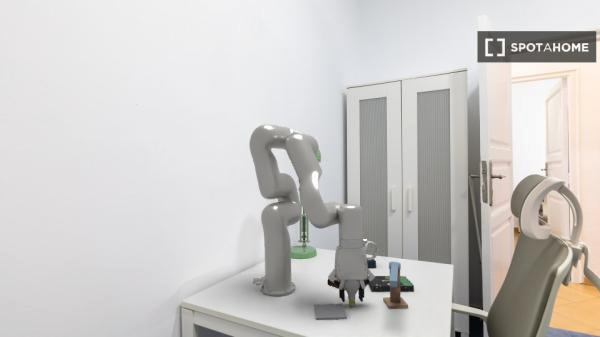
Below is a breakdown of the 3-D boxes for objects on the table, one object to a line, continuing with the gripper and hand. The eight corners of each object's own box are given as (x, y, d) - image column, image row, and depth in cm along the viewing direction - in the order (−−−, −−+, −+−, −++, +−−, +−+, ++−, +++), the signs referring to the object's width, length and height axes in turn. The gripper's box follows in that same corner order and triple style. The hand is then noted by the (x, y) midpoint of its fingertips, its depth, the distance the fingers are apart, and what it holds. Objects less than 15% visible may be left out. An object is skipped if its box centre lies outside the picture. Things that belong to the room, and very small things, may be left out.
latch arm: (400, 287, 84) (400, 281, 84) (386, 286, 85) (386, 280, 85) (400, 267, 101) (400, 262, 101) (389, 266, 102) (389, 261, 102)
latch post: (389, 308, 97) (388, 272, 97) (383, 300, 103) (382, 266, 103) (408, 308, 97) (407, 272, 97) (401, 300, 103) (400, 266, 103)
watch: (358, 264, 141) (358, 240, 140) (376, 264, 141) (375, 239, 141) (361, 268, 135) (361, 243, 135) (380, 268, 135) (379, 242, 135)
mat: (316, 319, 91) (316, 318, 91) (314, 306, 100) (314, 304, 100) (347, 318, 91) (347, 317, 91) (342, 305, 100) (342, 303, 100)
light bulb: (358, 301, 102) (357, 271, 102) (362, 309, 97) (361, 277, 97) (341, 302, 102) (341, 271, 102) (344, 309, 97) (344, 277, 97)
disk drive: (372, 294, 110) (414, 293, 110) (372, 286, 110) (414, 285, 110) (366, 283, 120) (405, 282, 120) (366, 275, 120) (405, 274, 120)
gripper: (374, 239, 103) (375, 294, 104) (322, 241, 103) (323, 296, 103) (380, 245, 96) (381, 304, 96) (325, 246, 96) (326, 306, 96)
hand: (351, 299), depth 100 cm, fingers closed on light bulb, 5 cm apart
